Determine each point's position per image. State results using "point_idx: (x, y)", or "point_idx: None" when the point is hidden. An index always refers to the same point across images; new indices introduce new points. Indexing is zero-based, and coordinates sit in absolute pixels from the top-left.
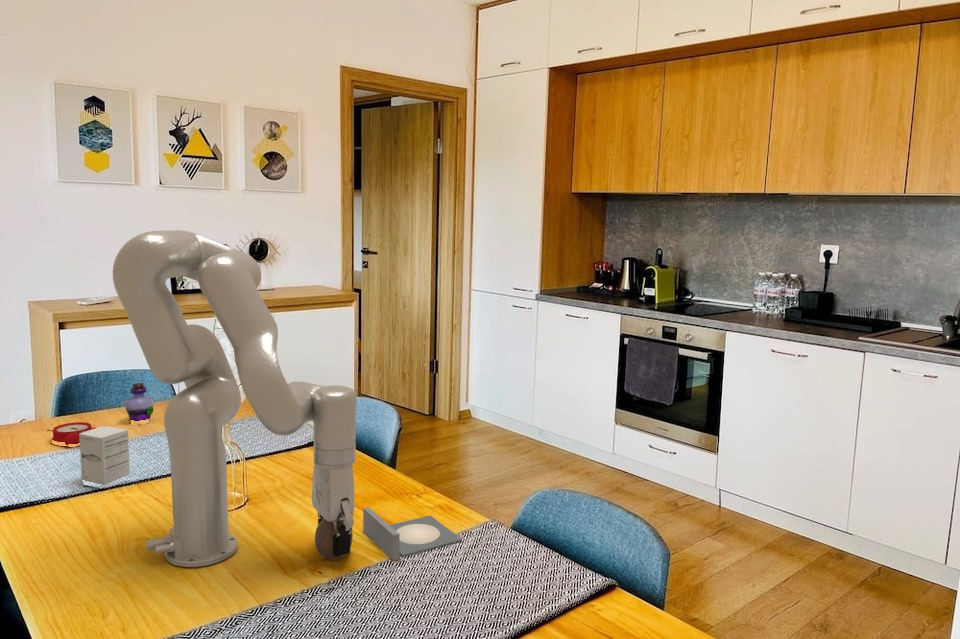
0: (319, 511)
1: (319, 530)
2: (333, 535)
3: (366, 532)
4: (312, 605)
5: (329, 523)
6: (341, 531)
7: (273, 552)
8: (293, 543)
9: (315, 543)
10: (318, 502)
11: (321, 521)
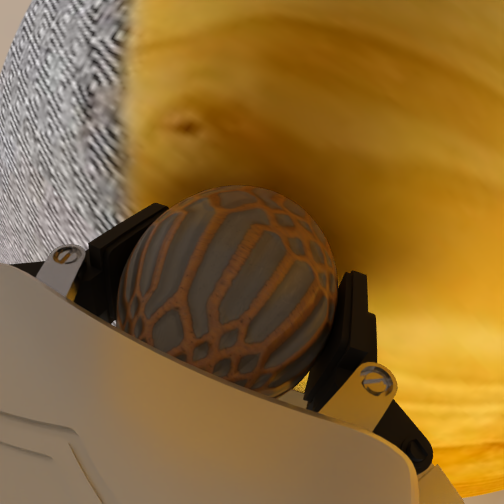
0: (131, 363)
1: (202, 240)
2: (96, 248)
3: (304, 400)
4: (64, 35)
5: (131, 310)
6: (30, 268)
7: (485, 103)
8: (484, 216)
9: (267, 195)
10: (95, 463)
11: (220, 313)
